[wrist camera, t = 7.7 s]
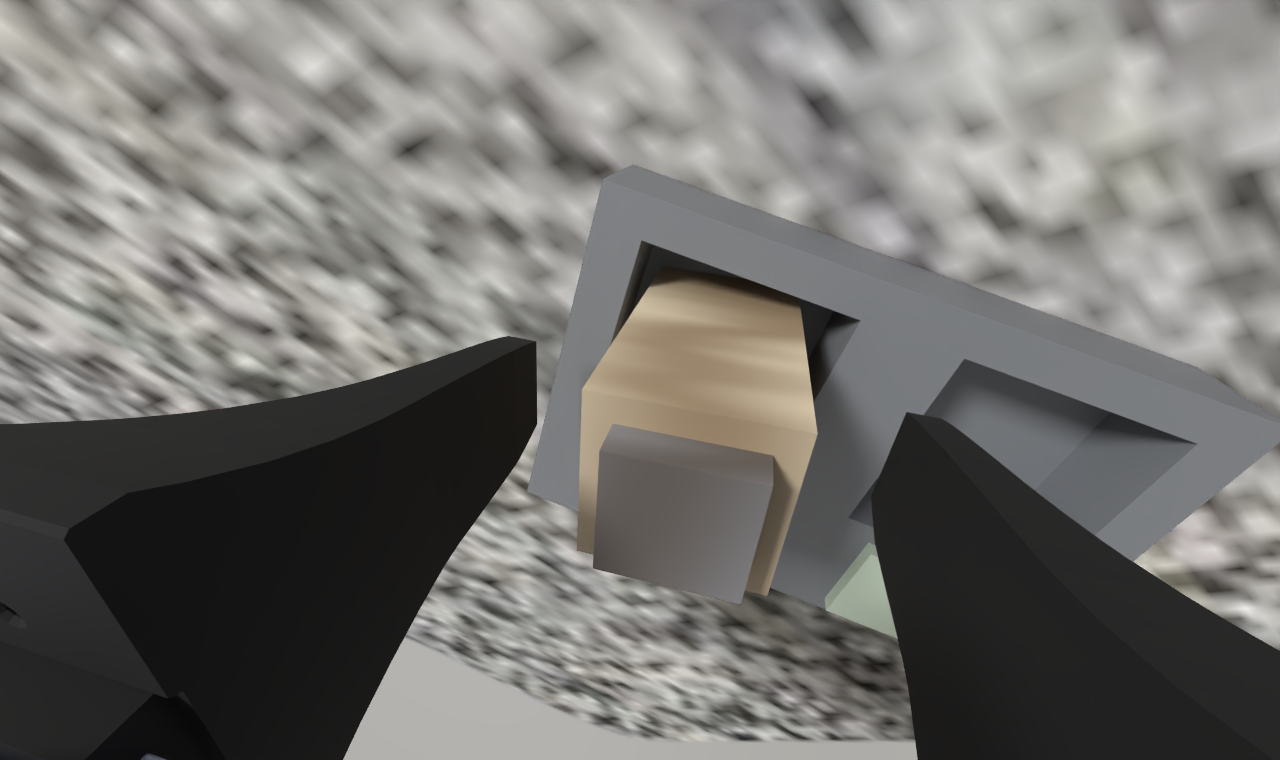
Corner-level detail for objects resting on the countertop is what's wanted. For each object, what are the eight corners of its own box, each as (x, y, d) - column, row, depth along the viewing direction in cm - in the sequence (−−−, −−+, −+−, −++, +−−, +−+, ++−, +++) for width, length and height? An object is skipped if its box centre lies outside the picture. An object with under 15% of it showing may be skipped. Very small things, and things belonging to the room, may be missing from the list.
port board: (1197, 367, 12) (1315, 441, 9) (962, 597, 17) (997, 689, 14) (633, 164, 13) (597, 181, 10) (558, 441, 17) (521, 501, 15)
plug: (797, 286, 13) (821, 465, 6) (768, 403, 14) (766, 632, 8) (662, 266, 13) (565, 413, 7) (650, 381, 15) (563, 581, 9)
